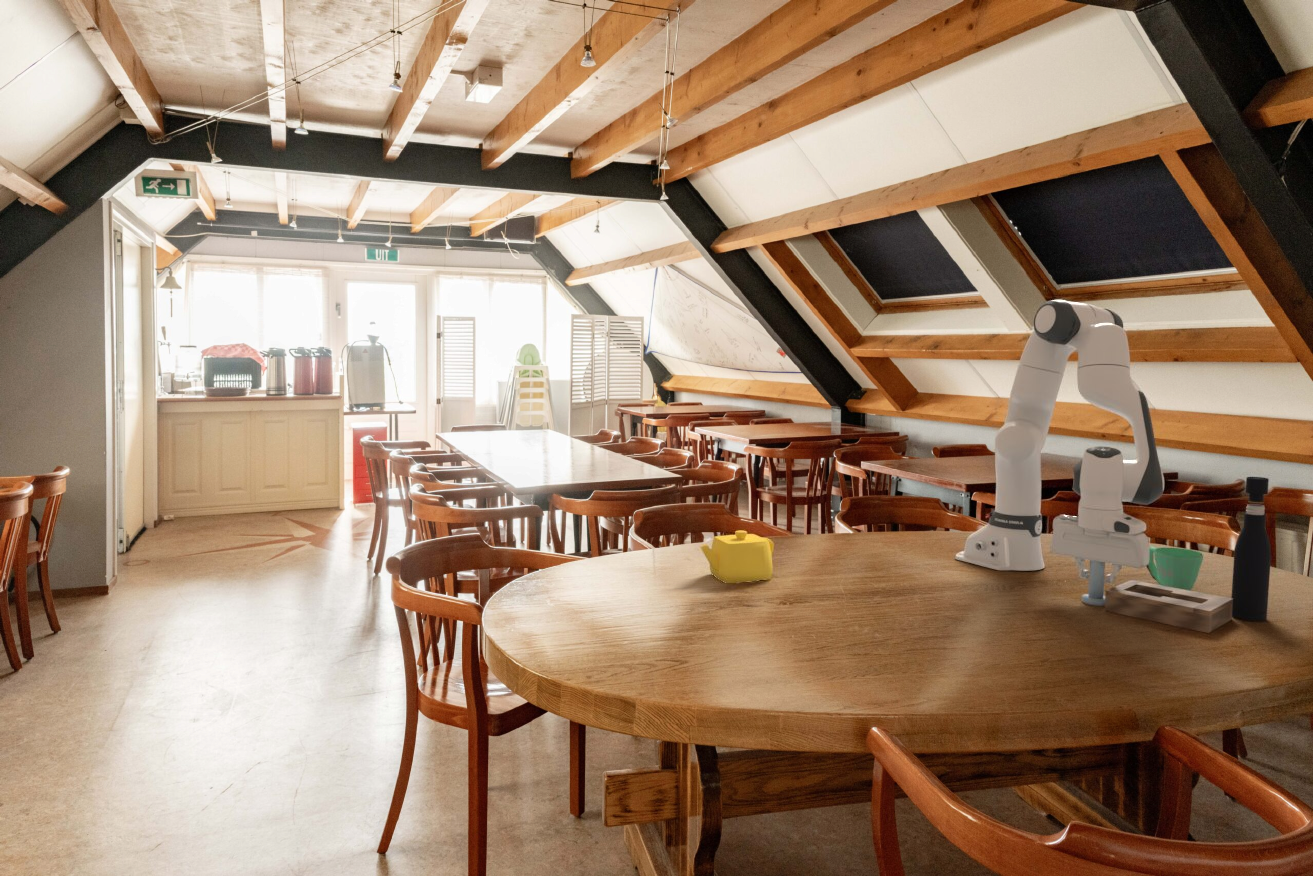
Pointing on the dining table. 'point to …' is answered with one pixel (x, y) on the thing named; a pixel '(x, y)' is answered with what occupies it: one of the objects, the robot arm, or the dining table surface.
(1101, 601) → the peg
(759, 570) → the teapot
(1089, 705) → the dining table surface
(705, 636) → the dining table surface
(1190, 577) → the mug
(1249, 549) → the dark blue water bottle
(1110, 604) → the keyhole board
